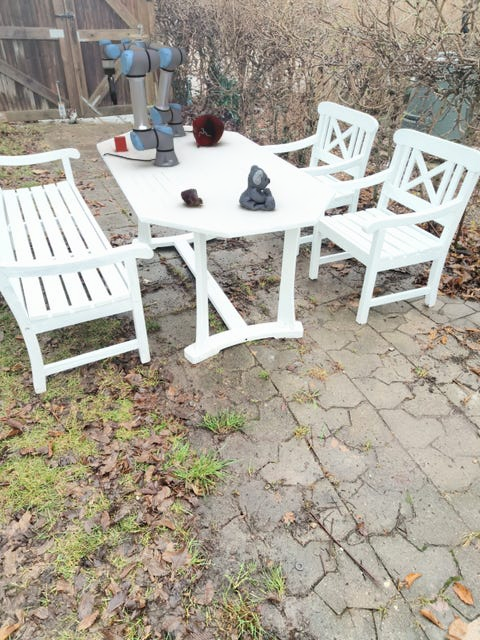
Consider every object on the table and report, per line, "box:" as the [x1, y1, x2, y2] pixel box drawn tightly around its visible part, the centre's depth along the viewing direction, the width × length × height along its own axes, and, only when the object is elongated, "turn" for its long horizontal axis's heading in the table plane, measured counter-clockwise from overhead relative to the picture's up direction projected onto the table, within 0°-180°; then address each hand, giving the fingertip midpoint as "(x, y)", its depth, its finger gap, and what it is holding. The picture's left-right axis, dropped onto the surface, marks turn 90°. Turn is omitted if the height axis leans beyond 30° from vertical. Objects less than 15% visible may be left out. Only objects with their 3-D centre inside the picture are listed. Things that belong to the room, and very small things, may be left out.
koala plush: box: [238, 164, 276, 211], centre depth 224 cm, size 17×18×20 cm
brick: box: [113, 135, 128, 153], centre depth 320 cm, size 5×8×9 cm, turn 109°
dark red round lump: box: [190, 113, 225, 149], centre depth 332 cm, size 21×24×25 cm
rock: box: [180, 188, 204, 207], centre depth 229 cm, size 12×9×10 cm
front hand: (114, 103), depth 305 cm, fingers open, 13 cm apart
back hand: (132, 92), depth 357 cm, fingers open, 13 cm apart
